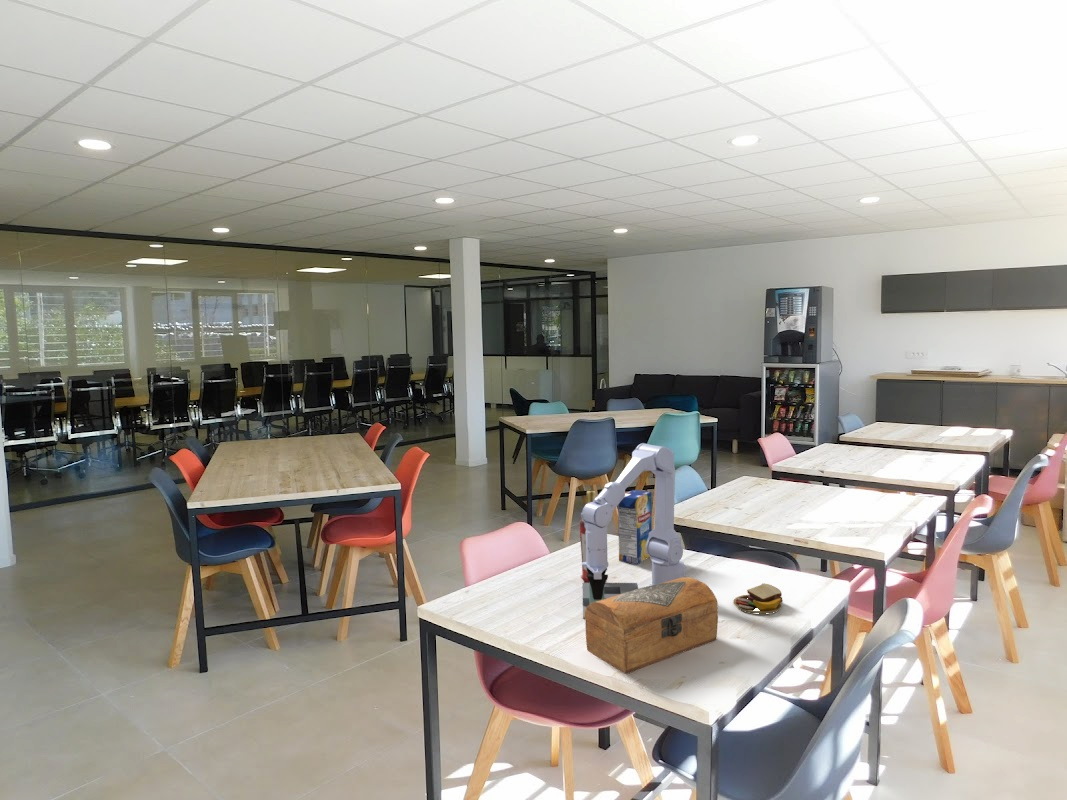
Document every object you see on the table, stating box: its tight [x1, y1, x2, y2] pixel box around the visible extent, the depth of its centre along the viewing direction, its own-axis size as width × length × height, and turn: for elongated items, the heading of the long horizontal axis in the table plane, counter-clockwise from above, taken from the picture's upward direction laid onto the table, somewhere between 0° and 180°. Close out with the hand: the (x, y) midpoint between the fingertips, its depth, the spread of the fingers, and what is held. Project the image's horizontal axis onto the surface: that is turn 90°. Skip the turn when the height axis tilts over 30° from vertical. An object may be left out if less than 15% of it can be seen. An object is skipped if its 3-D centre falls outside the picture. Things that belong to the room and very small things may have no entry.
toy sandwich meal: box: [733, 583, 783, 614], centre depth 189 cm, size 12×14×5 cm
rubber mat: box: [582, 604, 587, 620], centre depth 187 cm, size 8×8×1 cm
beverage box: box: [617, 489, 653, 565], centre depth 231 cm, size 7×11×22 cm, turn 145°
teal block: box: [589, 582, 605, 603], centre depth 187 cm, size 4×4×8 cm
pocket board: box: [582, 582, 639, 606], centre depth 197 cm, size 16×12×2 cm
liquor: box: [578, 490, 596, 583], centre depth 210 cm, size 7×7×28 cm
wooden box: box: [584, 576, 719, 675], centre depth 166 cm, size 30×16×14 cm, turn 122°
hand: (597, 595), depth 187 cm, fingers closed on teal block, 4 cm apart
